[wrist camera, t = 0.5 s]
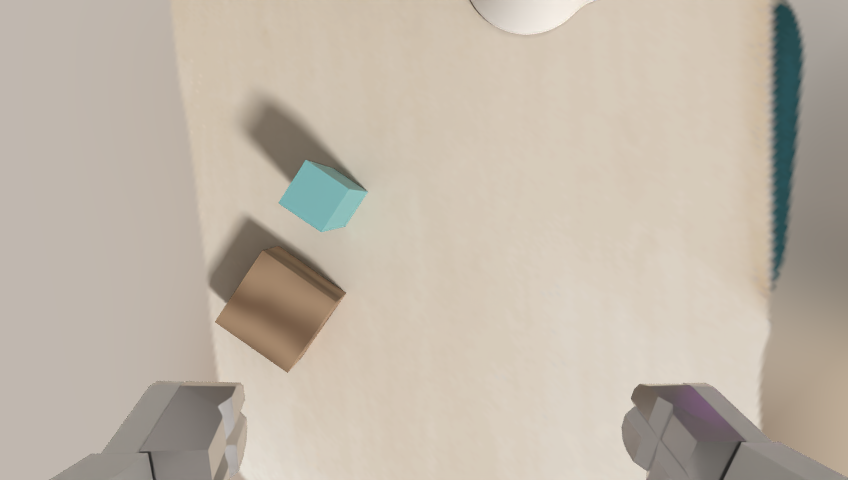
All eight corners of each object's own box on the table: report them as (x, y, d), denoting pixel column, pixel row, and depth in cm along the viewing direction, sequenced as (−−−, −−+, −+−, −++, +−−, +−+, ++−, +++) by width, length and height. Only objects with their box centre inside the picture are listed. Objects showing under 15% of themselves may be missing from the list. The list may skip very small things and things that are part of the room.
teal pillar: (333, 168, 50) (305, 159, 40) (367, 191, 50) (349, 189, 40) (310, 203, 51) (278, 203, 41) (345, 226, 51) (321, 232, 41)
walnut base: (279, 245, 52) (262, 250, 47) (346, 292, 52) (336, 302, 47) (236, 310, 53) (214, 322, 48) (302, 356, 53) (287, 372, 48)
